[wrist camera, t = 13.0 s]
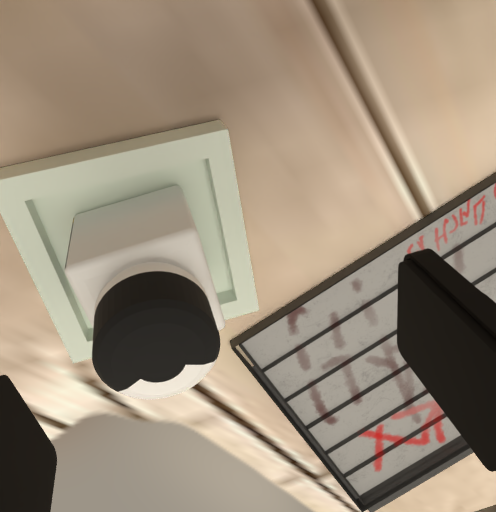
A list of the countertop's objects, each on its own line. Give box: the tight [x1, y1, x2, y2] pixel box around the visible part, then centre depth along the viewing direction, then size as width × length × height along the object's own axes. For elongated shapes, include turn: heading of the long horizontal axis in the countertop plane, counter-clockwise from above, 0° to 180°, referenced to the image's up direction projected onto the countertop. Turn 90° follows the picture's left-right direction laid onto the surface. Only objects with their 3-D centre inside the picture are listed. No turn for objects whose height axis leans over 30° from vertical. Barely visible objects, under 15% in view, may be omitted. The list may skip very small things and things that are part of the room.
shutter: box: [230, 172, 496, 512], centre depth 46 cm, size 32×7×31 cm
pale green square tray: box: [0, 120, 259, 363], centre depth 31 cm, size 14×14×2 cm
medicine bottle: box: [65, 185, 225, 399], centre depth 26 cm, size 7×7×12 cm
